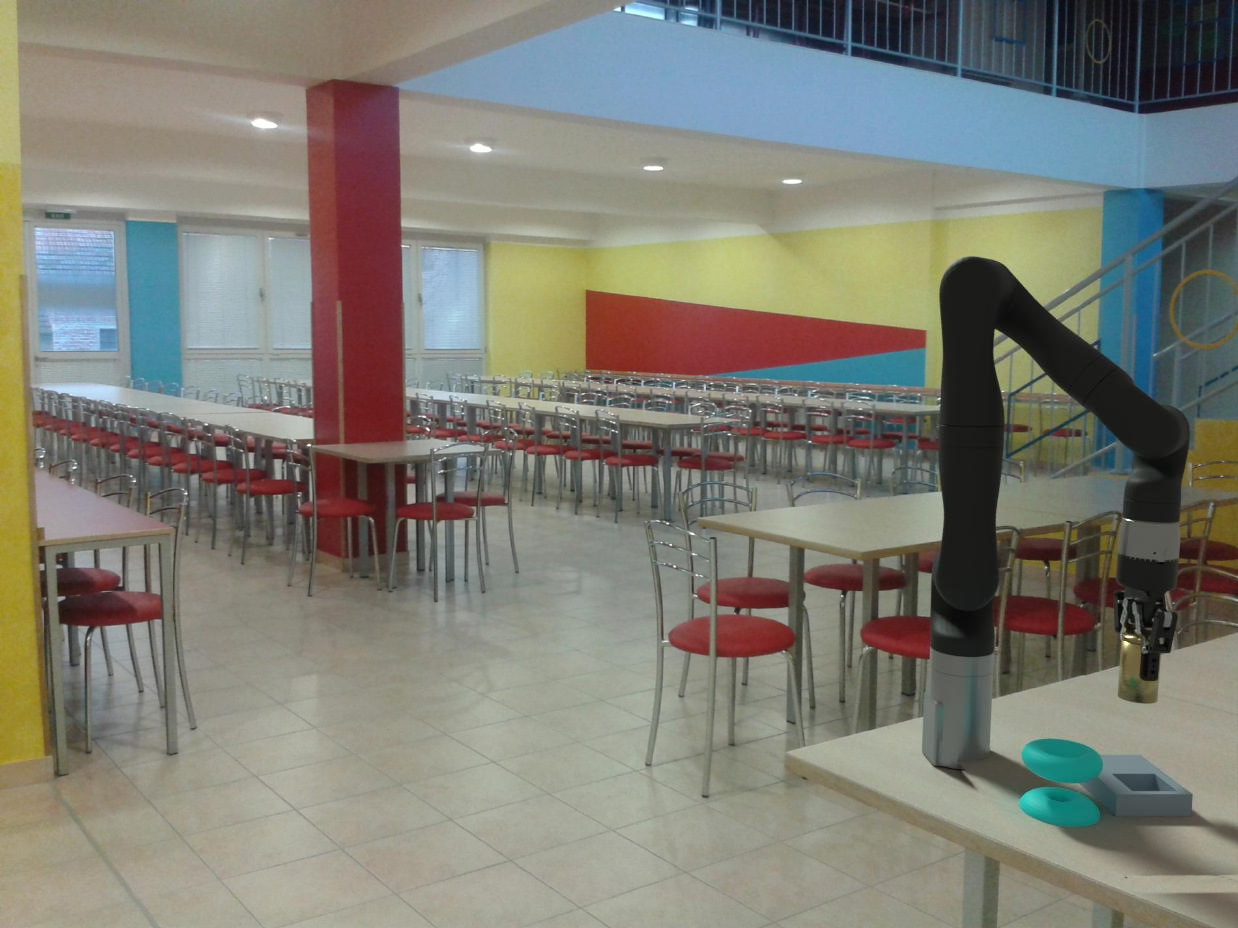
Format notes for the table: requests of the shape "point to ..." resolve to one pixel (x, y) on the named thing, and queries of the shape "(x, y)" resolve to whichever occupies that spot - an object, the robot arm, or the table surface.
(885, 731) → the table surface
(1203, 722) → the table surface
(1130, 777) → the housing
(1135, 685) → the gold battery
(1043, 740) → the donuts
